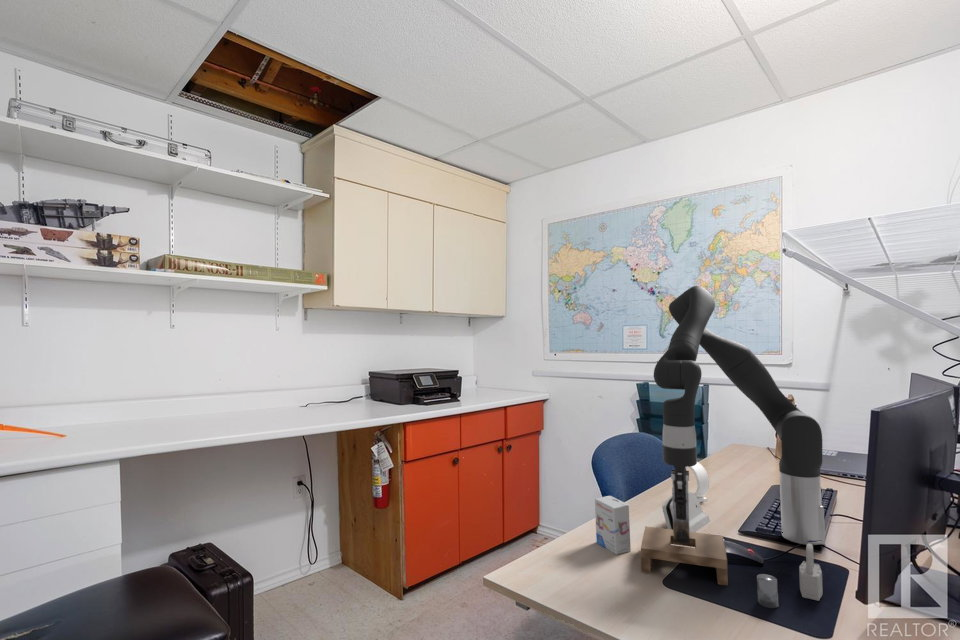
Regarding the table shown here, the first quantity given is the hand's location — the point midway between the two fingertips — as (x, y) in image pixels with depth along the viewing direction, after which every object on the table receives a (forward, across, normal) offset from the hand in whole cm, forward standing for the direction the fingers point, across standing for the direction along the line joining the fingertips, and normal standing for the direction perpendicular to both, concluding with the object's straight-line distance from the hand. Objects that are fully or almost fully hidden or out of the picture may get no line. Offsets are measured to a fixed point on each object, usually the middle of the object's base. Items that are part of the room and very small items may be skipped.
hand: (681, 515), depth 119 cm
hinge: (+12, +26, 0) cm, 29 cm away
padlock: (+12, -4, -25) cm, 28 cm away
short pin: (+11, -12, -16) cm, 23 cm away
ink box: (+12, +5, +17) cm, 21 cm away
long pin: (+6, 0, 0) cm, 6 cm away
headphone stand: (+12, +51, -4) cm, 52 cm away
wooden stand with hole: (+12, 0, 0) cm, 12 cm away
